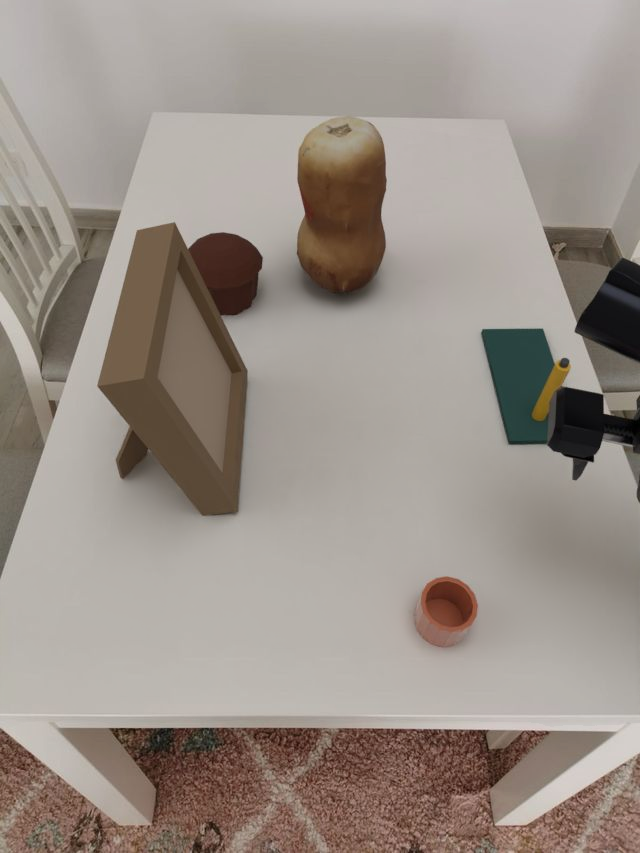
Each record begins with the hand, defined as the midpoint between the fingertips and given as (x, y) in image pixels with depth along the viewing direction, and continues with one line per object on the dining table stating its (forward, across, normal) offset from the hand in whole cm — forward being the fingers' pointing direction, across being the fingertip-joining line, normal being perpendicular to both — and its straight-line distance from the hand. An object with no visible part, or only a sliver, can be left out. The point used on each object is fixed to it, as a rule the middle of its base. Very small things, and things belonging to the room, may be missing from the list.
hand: (622, 486), depth 61 cm
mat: (+13, -7, +23) cm, 27 cm away
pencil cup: (+13, -14, -13) cm, 23 cm away
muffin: (+13, -53, +29) cm, 62 cm away
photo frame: (+13, -49, +2) cm, 51 cm away
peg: (+12, -5, +17) cm, 22 cm away
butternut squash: (+13, -37, +37) cm, 54 cm away
